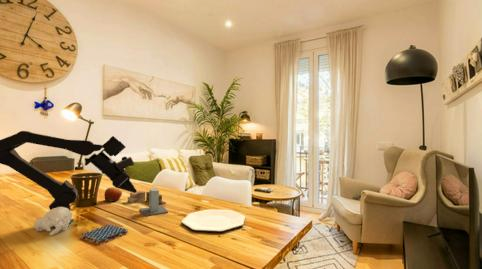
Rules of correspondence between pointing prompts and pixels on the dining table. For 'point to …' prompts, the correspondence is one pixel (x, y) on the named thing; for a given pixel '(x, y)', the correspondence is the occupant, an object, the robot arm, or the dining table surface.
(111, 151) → the robot arm
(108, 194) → the fruit
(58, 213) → the animal skull
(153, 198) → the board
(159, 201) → the brown wooden block
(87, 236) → the woven mat
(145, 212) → the felt pad
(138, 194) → the offcut stack
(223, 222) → the plate
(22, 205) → the dining table surface
